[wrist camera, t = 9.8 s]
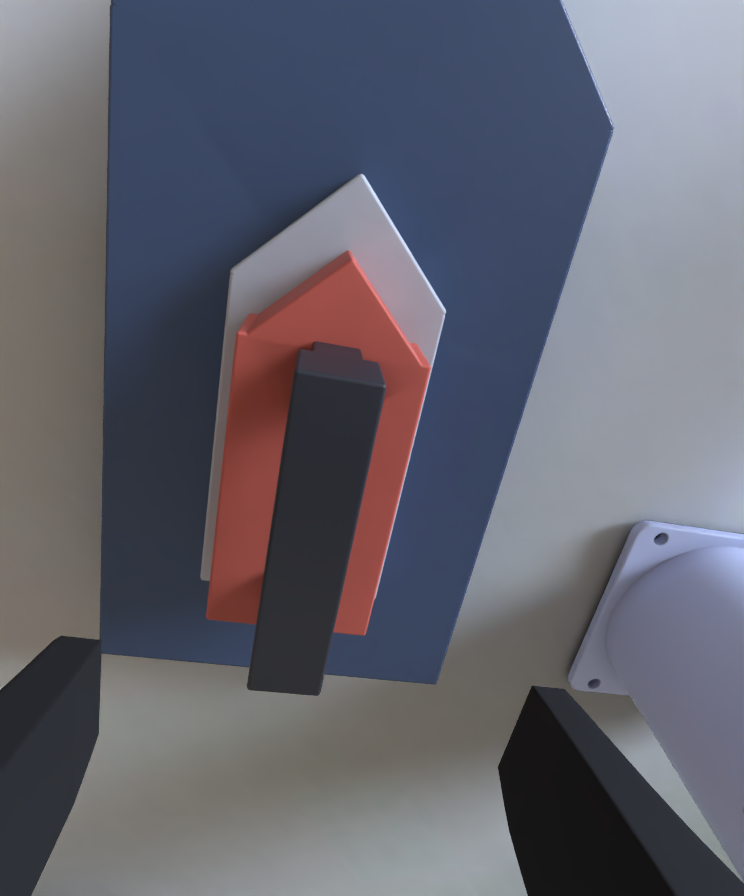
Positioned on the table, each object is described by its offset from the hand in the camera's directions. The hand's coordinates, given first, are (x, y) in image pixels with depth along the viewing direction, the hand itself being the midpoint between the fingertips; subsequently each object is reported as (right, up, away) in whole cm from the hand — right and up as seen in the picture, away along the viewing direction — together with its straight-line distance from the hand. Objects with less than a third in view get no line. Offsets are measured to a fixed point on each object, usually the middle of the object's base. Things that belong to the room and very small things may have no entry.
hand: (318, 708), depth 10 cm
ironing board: (0, +8, +7) cm, 11 cm away
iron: (-1, +5, +6) cm, 8 cm away
